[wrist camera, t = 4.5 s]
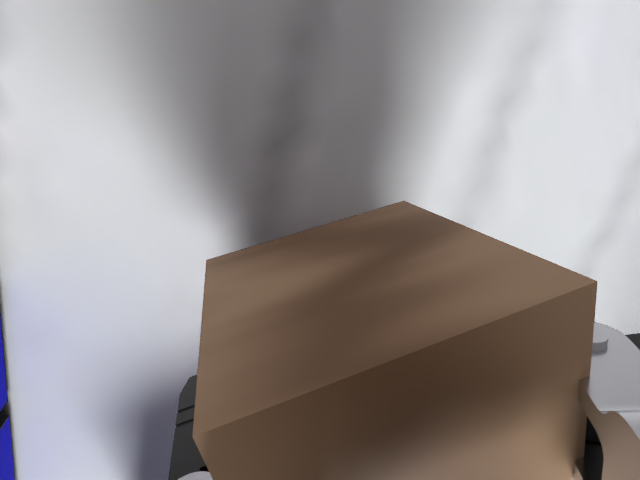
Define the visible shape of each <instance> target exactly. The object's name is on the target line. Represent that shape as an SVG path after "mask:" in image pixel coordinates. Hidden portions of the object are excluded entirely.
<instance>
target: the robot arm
mask: <svg viewBox="0 0 640 480" xmlns="http://www.w3.org/2000/svg"><path fill="white" fill-rule="evenodd" d="M196 386H197V375H195V376H192V377H190V378H189V380H188V382H187V383H186V385H185V387H184V388H183V390H182V392H181V393H180V398H179V406H178V414H177V421H176V427H177V428H176V429H175V435H174V443H173V450H172V457H171V465H170V472H169V480H213V479H212V477H211V475H210V473H209V471H208V468H207V466H206V464H205V462H204V460H203V458H202V456H201V454H200V452H199V450H198V447H197V445H196V443H195V441H194V439H193V437H192V436H193V423H194V411H195V398H196ZM578 402H579V403H580V405H581V407H582V408H583V410H584V412H585V413H586V415H587V423H586V436H585V449H584V456H583V457H581V458H579V459H577V460H575V461H574V466H573V479H574V480H640V333H638V334H630V335H624V334H623V333H621V332H620V331H618V330H616V329H614V328H612V327H609V326H607V325H604V324H600V323H596V322H594V331H593V344H592V357H591V370H590V375H589V376H587V377H584V378H582V379H580V380H579V386H578Z"/></svg>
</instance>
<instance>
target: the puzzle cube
mask: <svg viewBox="0 0 640 480" xmlns="http://www.w3.org/2000/svg"><path fill="white" fill-rule="evenodd" d="M7 401H8V395H7V384H6V372H5V360H4V349H3V337H2V325H1V314H0V480H15V479H14V467H13V455H12V444H11V432H10V420H9V416H8V415H7V414H6V413H5V412H4V411H3V410H2V408H3V407H4V406H5V404H6V403H7Z"/></svg>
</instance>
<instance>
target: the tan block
mask: <svg viewBox="0 0 640 480" xmlns="http://www.w3.org/2000/svg"><path fill="white" fill-rule="evenodd" d="M596 292H597V281H595V280H593V279H590V278H588V277H586V276H583V275H581V274H578V273H576V272H574V271H571V270H569V269H566V268H564V267H562V266H559V265H557V264H554V263H552V262H550V261H547V260H545V259H542V258H540V257H538V256H535V255H533V254H530V253H528V252H526V251H523V250H521V249H518V248H516V247H514V246H511V245H509V244H506V243H504V242H502V241H499V240H497V239H494V238H492V237H490V236H487V235H485V234H482V233H480V232H478V231H475V230H473V229H470V228H468V227H466V226H463V225H461V224H458V223H456V222H454V221H451V220H449V219H446V218H444V217H442V216H439V215H437V214H434V213H432V212H430V211H427V210H425V209H422V208H420V207H418V206H415V205H413V204H410V203H408V202H406V201H402V202H399V203H395V204H392V205H389V206H385V207H382V208H379V209H375V210H372V211H369V212H365V213H362V214H359V215H355V216H352V217H349V218H345V219H342V220H339V221H335V222H332V223H329V224H325V225H322V226H319V227H315V228H312V229H309V230H305V231H302V232H298V233H295V234H292V235H288V236H285V237H282V238H278V239H275V240H272V241H268V242H265V243H262V244H258V245H255V246H252V247H248V248H245V249H242V250H238V251H235V252H232V253H228V254H225V255H222V256H218V257H215V258H212V259H208V260H206V273H205V285H204V298H203V310H202V323H201V335H200V348H199V361H198V373H197V386H196V398H195V411H194V423H193V436H192V437H193V439H194V441H195V443H196V445H197V447H198V450H199V452H200V454H201V456H202V458H203V460H204V462H205V464H206V466H207V468H208V471H209V473H210V475H211V477H212V479H213V480H574V479H573V466H574V461H575V460H577V459H579V458H581V457H583V456H584V449H585V436H586V423H587V415H586V413H585V412H584V410H583V408H582V407H581V405H580V403H579V402H578V386H579V380H580V379H582V378H584V377H587V376H589V375H590V370H591V357H592V344H593V331H594V318H595V305H596Z"/></svg>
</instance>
